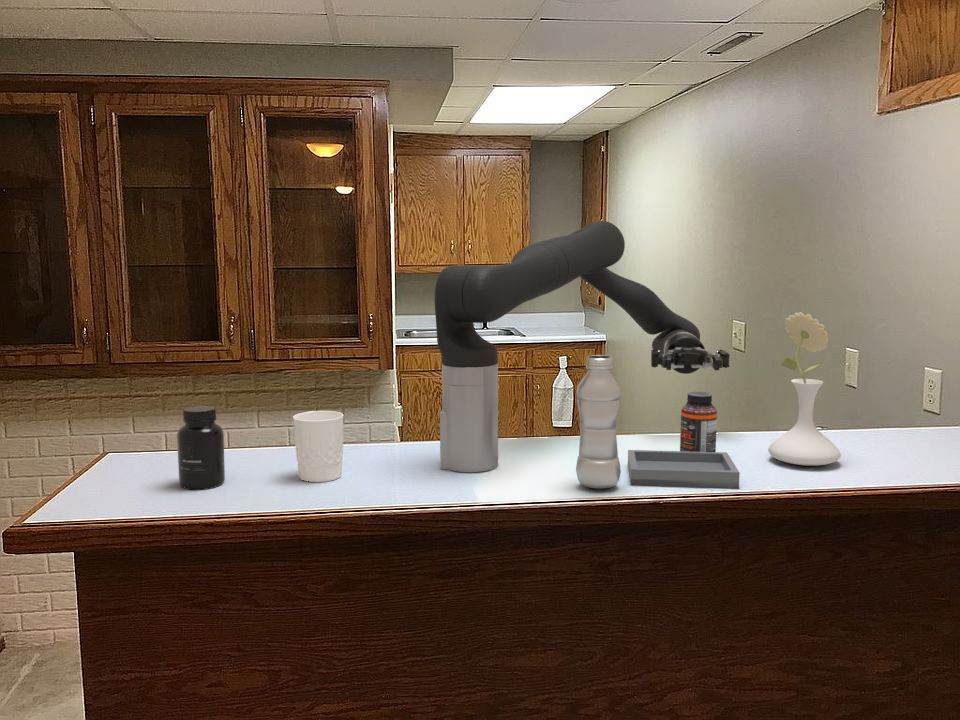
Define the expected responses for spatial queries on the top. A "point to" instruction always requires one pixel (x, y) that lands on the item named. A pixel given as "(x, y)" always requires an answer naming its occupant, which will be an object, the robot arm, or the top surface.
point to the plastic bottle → (598, 425)
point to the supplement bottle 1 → (200, 449)
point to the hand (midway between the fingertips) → (693, 364)
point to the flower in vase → (805, 401)
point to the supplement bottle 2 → (698, 423)
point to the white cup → (319, 445)
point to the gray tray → (682, 469)
